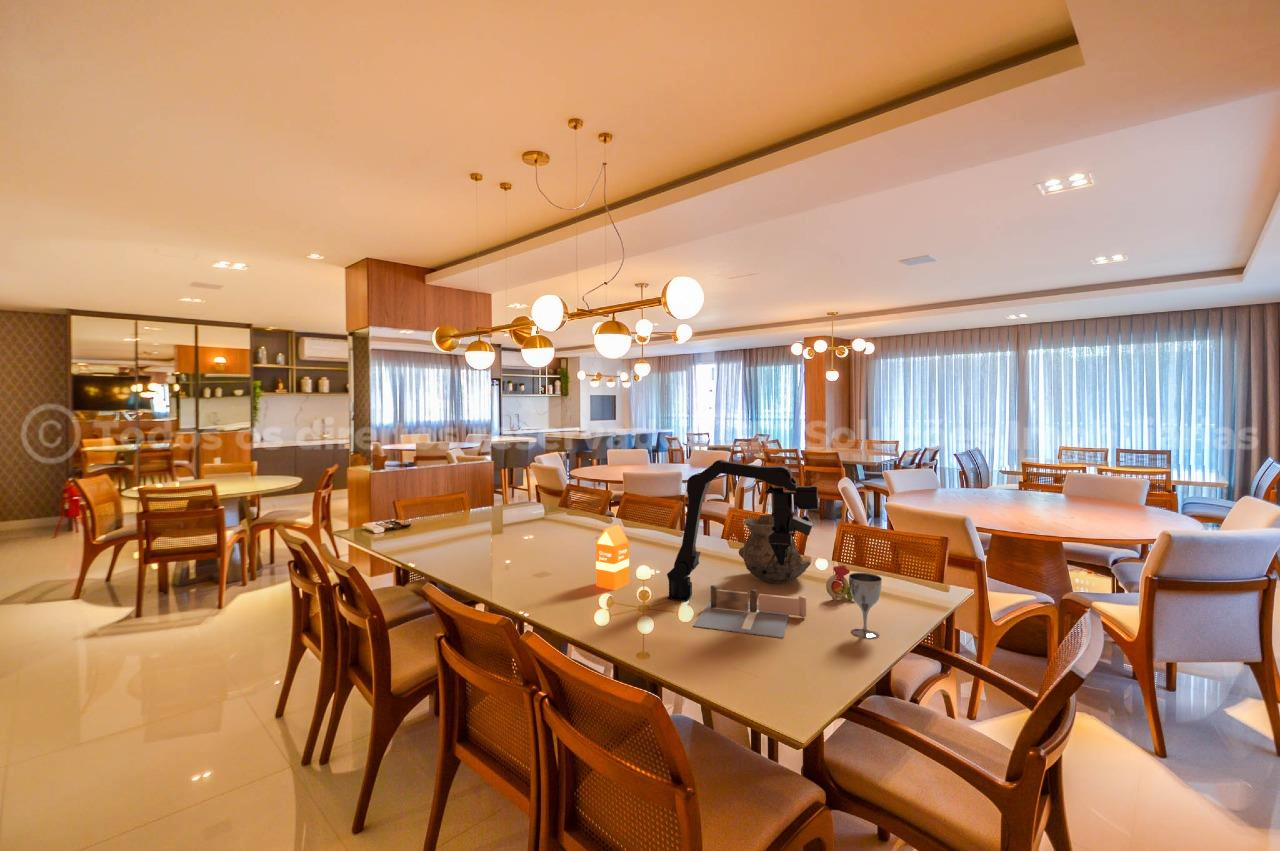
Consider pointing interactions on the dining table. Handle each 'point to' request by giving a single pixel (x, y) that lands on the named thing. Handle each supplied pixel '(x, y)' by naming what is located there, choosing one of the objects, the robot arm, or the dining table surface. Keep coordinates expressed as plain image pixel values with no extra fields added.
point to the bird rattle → (835, 587)
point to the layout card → (743, 621)
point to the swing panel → (782, 605)
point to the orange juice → (612, 558)
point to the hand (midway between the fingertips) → (783, 561)
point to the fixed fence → (733, 599)
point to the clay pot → (769, 554)
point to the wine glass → (865, 599)
